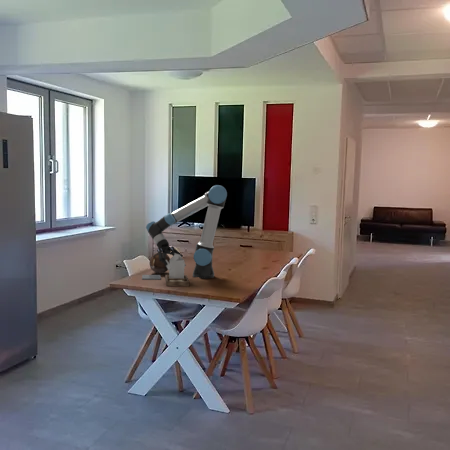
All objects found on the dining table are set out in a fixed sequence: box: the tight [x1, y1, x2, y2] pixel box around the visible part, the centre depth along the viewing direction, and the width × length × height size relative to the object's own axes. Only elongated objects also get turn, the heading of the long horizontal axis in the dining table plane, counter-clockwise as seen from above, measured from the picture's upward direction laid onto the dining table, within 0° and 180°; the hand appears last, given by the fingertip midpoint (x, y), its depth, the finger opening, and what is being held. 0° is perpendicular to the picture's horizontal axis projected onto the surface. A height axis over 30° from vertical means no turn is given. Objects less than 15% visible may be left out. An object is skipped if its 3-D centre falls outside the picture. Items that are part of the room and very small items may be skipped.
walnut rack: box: [164, 274, 190, 287], centre depth 302 cm, size 14×21×4 cm, turn 9°
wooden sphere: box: [149, 252, 171, 274], centre depth 337 cm, size 15×15×15 cm
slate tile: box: [141, 274, 162, 281], centre depth 314 cm, size 12×12×2 cm
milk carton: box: [168, 253, 186, 278], centre depth 306 cm, size 7×7×19 cm
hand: (177, 267), depth 305 cm, fingers open, 13 cm apart
